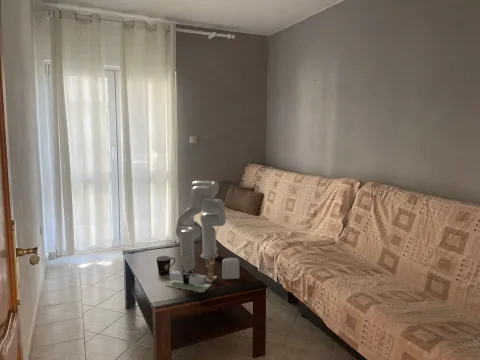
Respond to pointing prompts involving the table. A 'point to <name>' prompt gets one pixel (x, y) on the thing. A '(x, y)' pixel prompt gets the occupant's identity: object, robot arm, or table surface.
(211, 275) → the forked stand
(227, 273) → the photo printer
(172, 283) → the sage mat
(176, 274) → the steel bar
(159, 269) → the coffee mug
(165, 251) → the table surface
